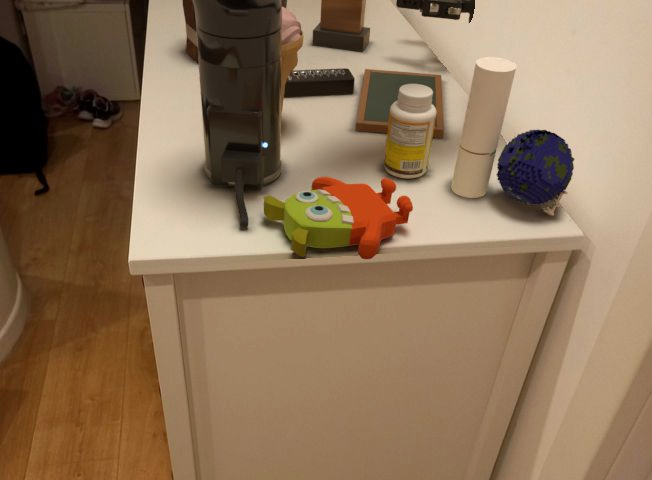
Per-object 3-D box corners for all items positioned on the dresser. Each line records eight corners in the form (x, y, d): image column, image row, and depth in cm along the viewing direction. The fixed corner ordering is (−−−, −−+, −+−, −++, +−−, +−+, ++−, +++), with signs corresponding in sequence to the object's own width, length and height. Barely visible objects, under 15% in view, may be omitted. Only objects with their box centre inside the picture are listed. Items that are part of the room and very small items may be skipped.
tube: (463, 200, 82) (491, 73, 72) (444, 183, 85) (468, 59, 75) (493, 194, 83) (524, 68, 73) (473, 177, 86) (500, 55, 76)
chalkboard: (442, 138, 94) (444, 129, 93) (355, 130, 95) (356, 122, 94) (440, 82, 109) (441, 74, 108) (364, 76, 110) (365, 68, 109)
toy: (435, 221, 71) (300, 243, 67) (429, 254, 74) (298, 277, 69) (375, 158, 81) (254, 173, 77) (371, 189, 84) (254, 205, 80)
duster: (362, 52, 118) (368, -12, 111) (312, 45, 119) (314, -18, 113) (369, 42, 121) (374, -20, 114) (320, 36, 123) (322, -26, 116)
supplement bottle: (402, 155, 90) (413, 76, 83) (435, 171, 87) (450, 91, 80) (373, 168, 87) (382, 88, 80) (407, 185, 84) (419, 103, 77)
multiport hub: (354, 94, 104) (355, 78, 103) (282, 97, 103) (283, 81, 101) (347, 82, 108) (348, 67, 106) (278, 85, 106) (278, 70, 104)
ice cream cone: (312, 117, 98) (318, -40, 84) (282, 150, 90) (284, -18, 77) (242, 104, 100) (237, -51, 87) (207, 134, 93) (196, -30, 79)
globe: (527, 212, 84) (557, 155, 84) (565, 217, 77) (599, 154, 76) (477, 181, 82) (508, 122, 81) (511, 183, 75) (546, 118, 74)
